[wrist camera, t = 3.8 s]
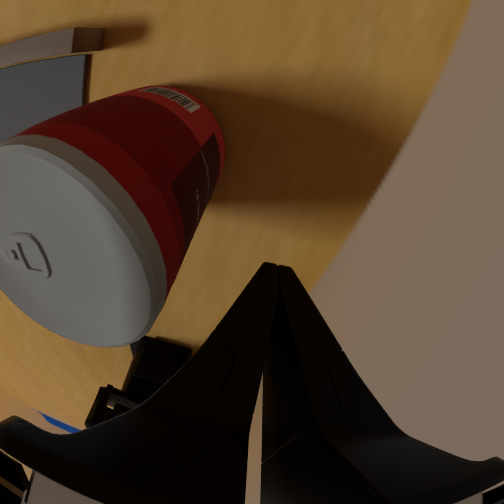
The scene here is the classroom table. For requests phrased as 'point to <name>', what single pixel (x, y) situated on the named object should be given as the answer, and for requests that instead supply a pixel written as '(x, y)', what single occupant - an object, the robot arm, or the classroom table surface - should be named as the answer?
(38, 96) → the mat
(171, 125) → the canned food
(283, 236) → the classroom table surface
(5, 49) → the cradle
